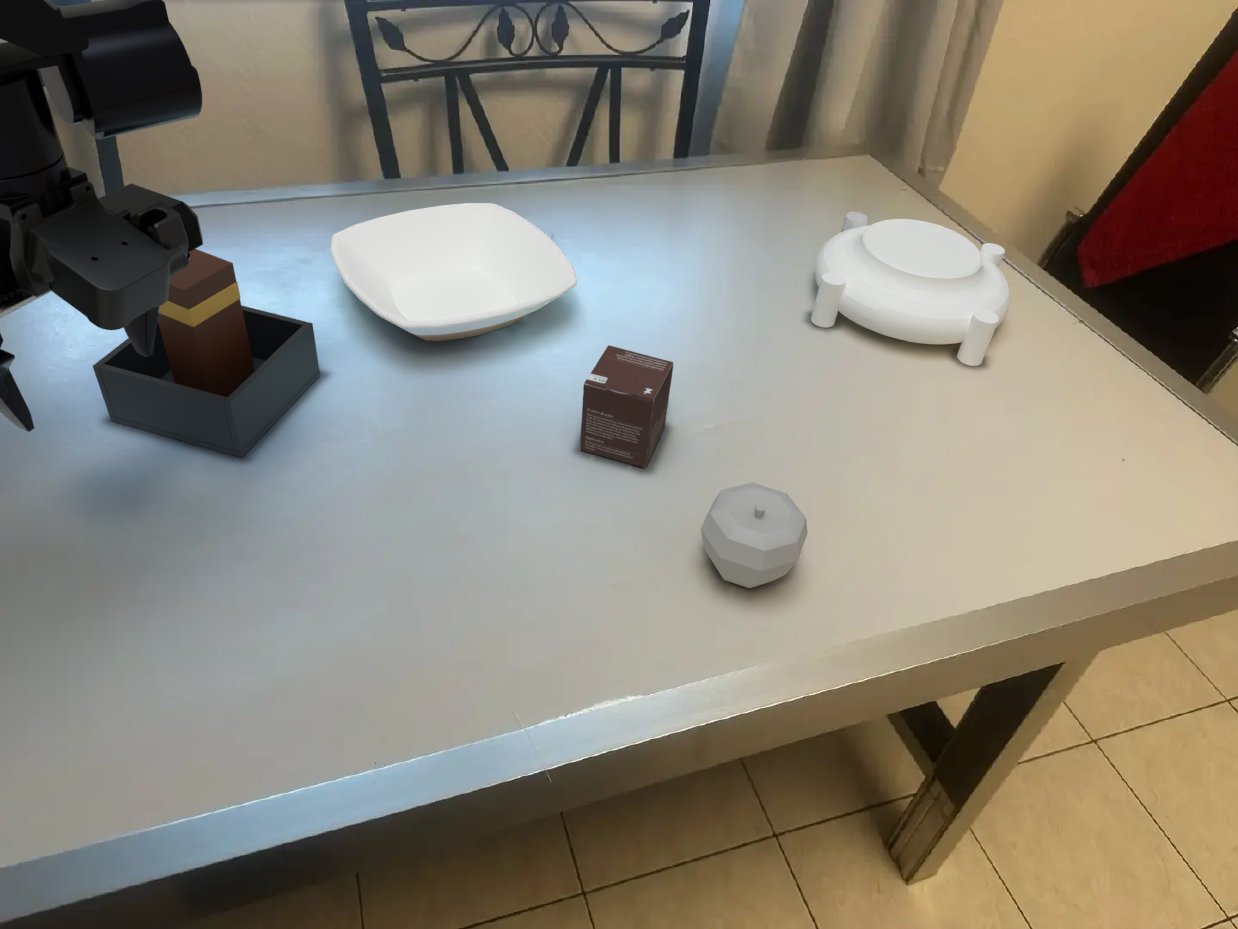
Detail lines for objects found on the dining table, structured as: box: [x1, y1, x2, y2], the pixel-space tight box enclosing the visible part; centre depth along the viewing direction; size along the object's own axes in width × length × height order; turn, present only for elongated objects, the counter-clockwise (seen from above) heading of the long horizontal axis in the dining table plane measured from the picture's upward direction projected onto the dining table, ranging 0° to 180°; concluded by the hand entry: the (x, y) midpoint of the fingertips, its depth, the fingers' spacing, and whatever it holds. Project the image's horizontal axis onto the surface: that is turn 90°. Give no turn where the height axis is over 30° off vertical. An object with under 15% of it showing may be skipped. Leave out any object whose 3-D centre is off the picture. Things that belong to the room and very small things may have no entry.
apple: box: [700, 482, 808, 589], centre depth 70 cm, size 8×8×7 cm
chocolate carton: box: [158, 248, 255, 397], centre depth 78 cm, size 5×4×12 cm
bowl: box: [329, 202, 578, 342], centre depth 95 cm, size 22×22×5 cm
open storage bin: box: [92, 304, 321, 459], centre depth 80 cm, size 12×12×6 cm
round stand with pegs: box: [810, 211, 1012, 367], centre depth 102 cm, size 24×24×7 cm
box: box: [579, 344, 674, 468], centre depth 80 cm, size 6×6×7 cm
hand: (88, 389), depth 61 cm, fingers open, 9 cm apart
